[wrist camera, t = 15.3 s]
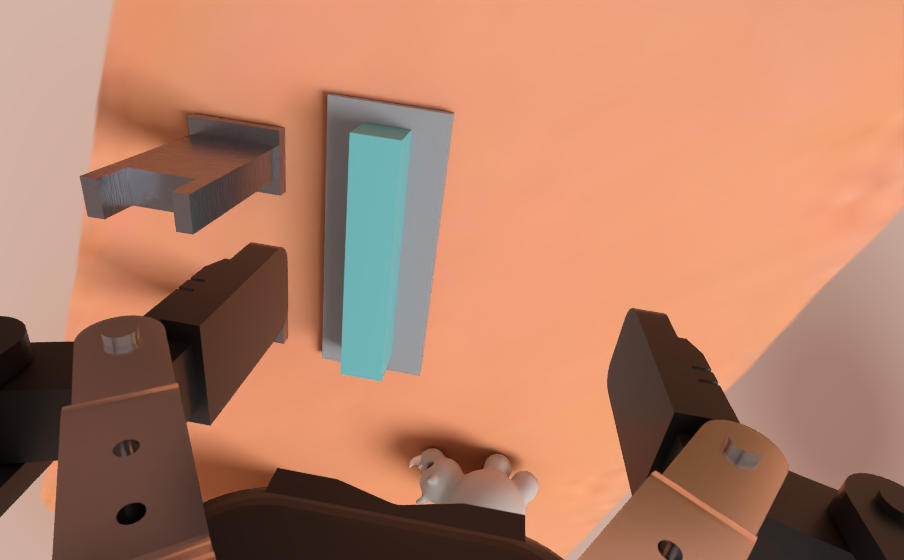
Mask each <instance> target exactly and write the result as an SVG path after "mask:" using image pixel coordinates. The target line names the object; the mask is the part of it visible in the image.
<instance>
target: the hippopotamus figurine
mask: <svg viewBox="0 0 904 560" xmlns="http://www.w3.org/2000/svg"><path fill="white" fill-rule="evenodd" d="M413 465H418V469H419V470H420V472H421V475H422V476H421V479H420V487H421V491H422V497H421V498H419V499H418V500H417V501H416V503H417V504H423V503H426V502H428V501H431V502H433V503H435V504H455V503H465V504H470V505H475V506H481V507H486V508H491V509H496V510H502V511H507V512H512V513H518V514H523V515H526V511H527V508H526V505H527V504H528V503H529V502H530V501H531V500H532V499H533V498H534V497H535V496H536V494H537V492H538V489H539V483H538V481H537V479H536V477H535V476H534V475H533V474H531V473H530V472H528V471H520V472H517V473H516V474H515V475H514V476H513V478H512V479H511V480H510V479H509V478H508V477H509V476H510V474H511V470H512V469H511V464H510V462H509V460H508V459H507V458H506V457H505V456H504V455H501V454H492V455H491V456H489V457H488V458H487V460H486V461H485V463H484V466H483V469H481V470H475V471H472V472H470V473H468V474H463V472H462V470H461V468H460V466H459V465H458V464H457V463H456V462H455V461H454V460H452V459H449V458H445V456H444V454H443V453H442V452H441V451H440V450H438V449H436V448H429V449H426V450H424V451H423V452H422V453H421V455H419V456H416V457H414V458H413V459H412V460H411V461H410V464H409V468H410V467H412V466H413Z"/></svg>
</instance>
